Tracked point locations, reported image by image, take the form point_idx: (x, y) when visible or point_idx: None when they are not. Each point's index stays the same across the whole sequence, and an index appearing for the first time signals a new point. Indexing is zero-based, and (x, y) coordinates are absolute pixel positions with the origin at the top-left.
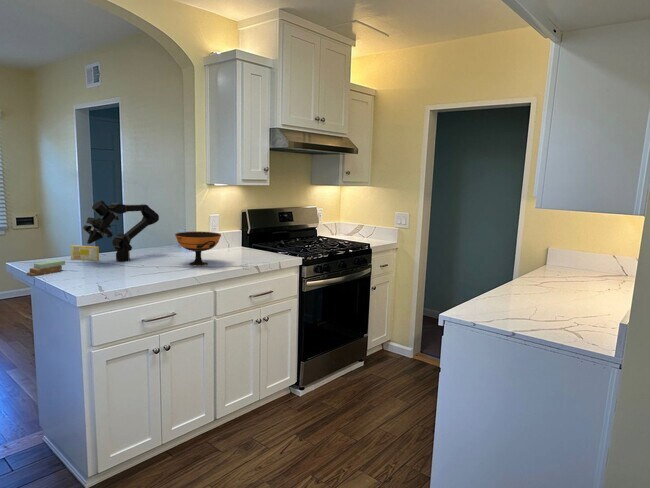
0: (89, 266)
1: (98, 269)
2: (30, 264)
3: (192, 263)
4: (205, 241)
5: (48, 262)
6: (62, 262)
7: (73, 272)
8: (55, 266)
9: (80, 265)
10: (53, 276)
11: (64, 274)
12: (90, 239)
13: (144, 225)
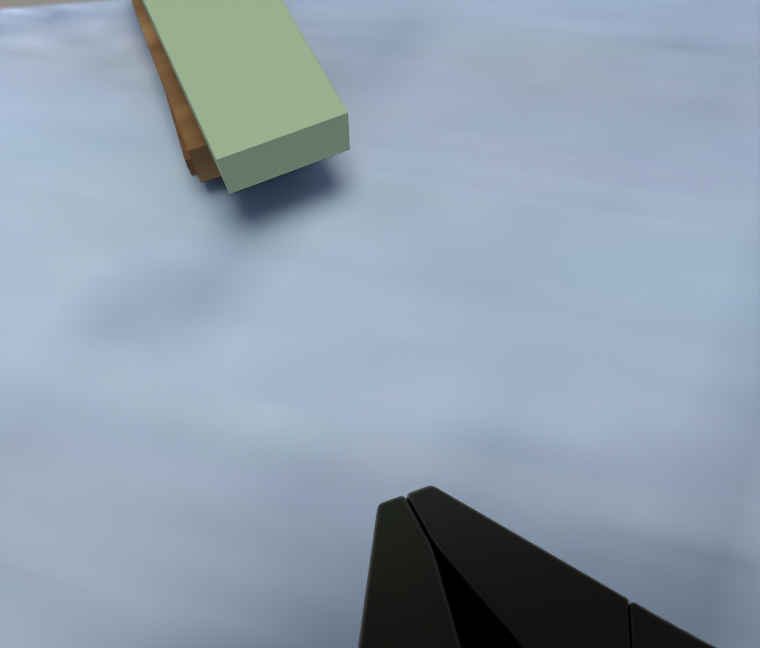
0: (351, 550)
1: (45, 610)
2: (738, 45)
3: None
4: None
5: (211, 4)
6: (207, 140)
7: (73, 280)
8: (175, 93)
9: (486, 454)
10: (12, 97)
11: (32, 187)
12: (365, 611)
13: None
